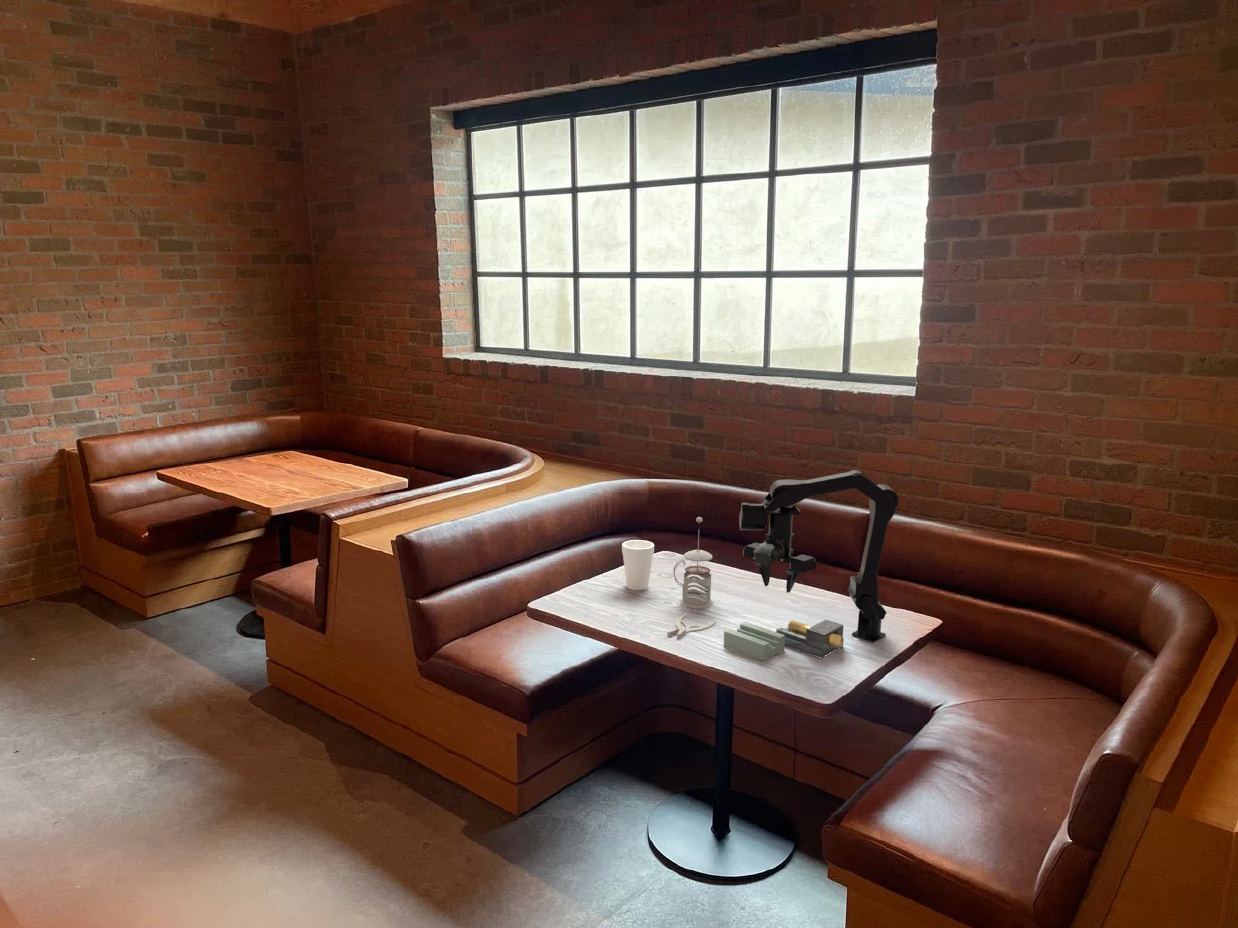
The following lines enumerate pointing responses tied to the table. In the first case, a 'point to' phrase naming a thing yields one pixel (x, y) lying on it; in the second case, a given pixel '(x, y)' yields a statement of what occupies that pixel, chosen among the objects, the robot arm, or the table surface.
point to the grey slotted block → (813, 638)
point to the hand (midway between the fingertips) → (777, 589)
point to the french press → (696, 579)
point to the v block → (754, 641)
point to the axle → (801, 628)
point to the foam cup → (637, 563)
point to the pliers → (682, 630)
